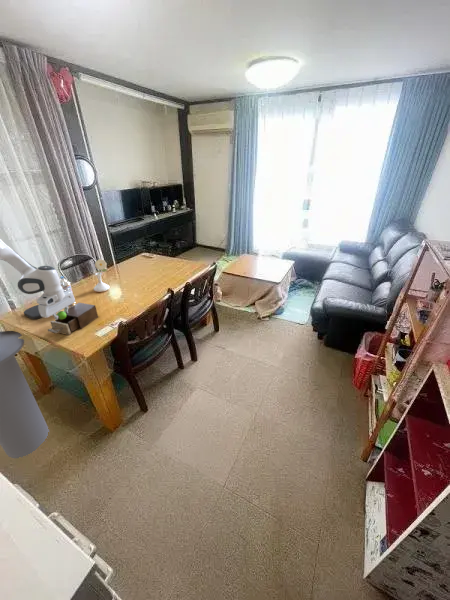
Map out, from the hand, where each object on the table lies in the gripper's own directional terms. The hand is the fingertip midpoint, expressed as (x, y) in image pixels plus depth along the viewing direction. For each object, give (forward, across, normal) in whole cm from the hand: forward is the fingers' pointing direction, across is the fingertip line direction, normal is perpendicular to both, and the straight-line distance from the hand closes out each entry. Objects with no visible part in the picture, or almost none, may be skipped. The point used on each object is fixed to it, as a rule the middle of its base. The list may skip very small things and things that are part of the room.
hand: (61, 316), depth 145 cm
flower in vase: (+10, -54, -18) cm, 58 cm away
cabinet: (+10, -12, 0) cm, 16 cm away
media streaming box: (+10, -12, -33) cm, 37 cm away
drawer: (+9, -1, 0) cm, 9 cm away
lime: (+2, 0, 0) cm, 2 cm away
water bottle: (+10, -20, -15) cm, 27 cm away
